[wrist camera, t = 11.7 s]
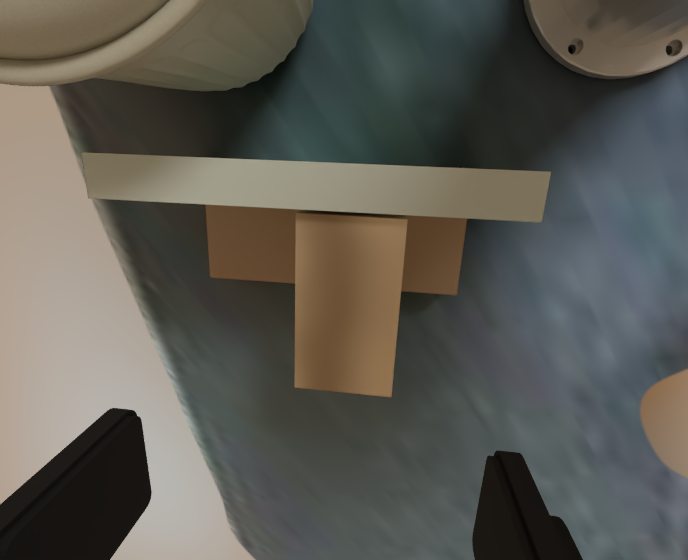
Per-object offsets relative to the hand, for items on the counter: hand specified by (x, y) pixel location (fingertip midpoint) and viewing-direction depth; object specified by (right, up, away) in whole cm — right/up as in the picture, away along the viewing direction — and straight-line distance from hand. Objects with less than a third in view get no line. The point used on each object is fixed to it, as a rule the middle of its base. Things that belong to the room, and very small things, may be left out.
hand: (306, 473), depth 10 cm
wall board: (0, +9, +19) cm, 21 cm away
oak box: (+2, +6, +17) cm, 18 cm away
